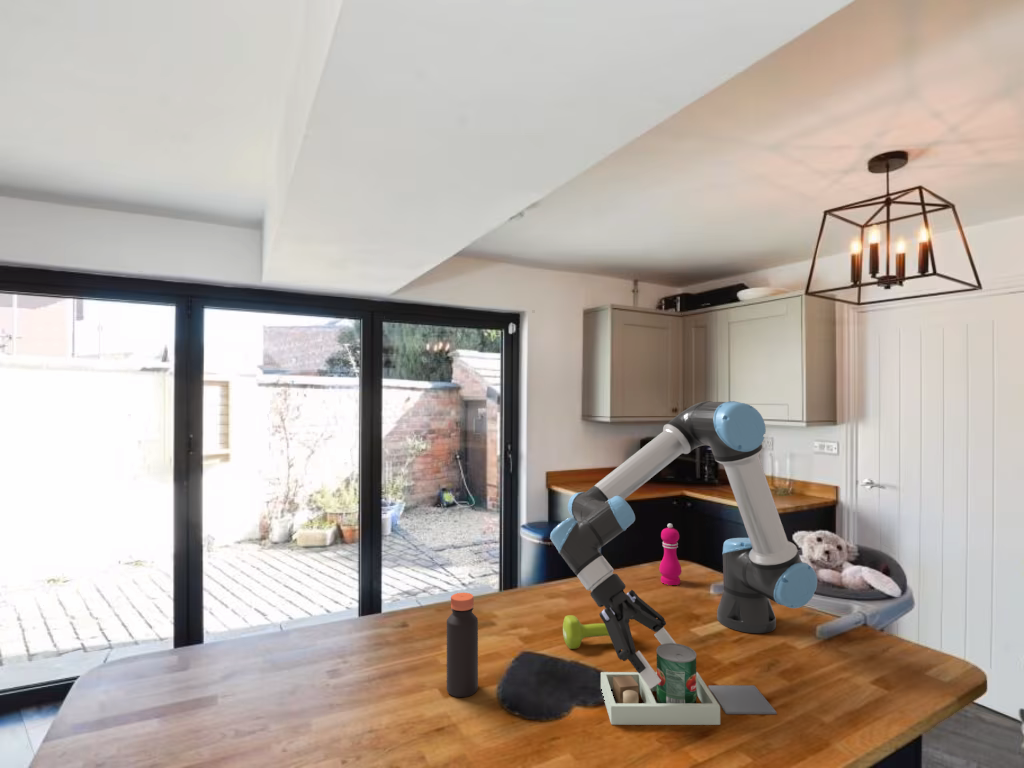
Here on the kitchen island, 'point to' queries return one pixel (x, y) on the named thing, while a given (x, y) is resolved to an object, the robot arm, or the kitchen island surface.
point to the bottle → (462, 647)
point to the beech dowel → (630, 696)
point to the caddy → (659, 705)
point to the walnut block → (624, 687)
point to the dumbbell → (580, 631)
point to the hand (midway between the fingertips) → (668, 670)
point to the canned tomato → (676, 674)
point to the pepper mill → (670, 557)
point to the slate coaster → (741, 699)
